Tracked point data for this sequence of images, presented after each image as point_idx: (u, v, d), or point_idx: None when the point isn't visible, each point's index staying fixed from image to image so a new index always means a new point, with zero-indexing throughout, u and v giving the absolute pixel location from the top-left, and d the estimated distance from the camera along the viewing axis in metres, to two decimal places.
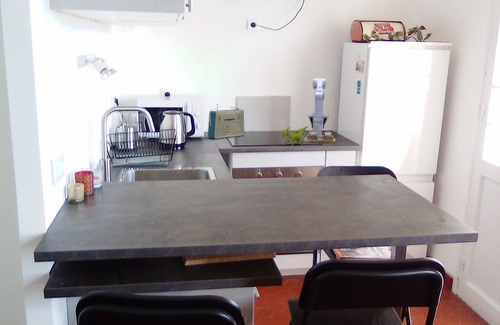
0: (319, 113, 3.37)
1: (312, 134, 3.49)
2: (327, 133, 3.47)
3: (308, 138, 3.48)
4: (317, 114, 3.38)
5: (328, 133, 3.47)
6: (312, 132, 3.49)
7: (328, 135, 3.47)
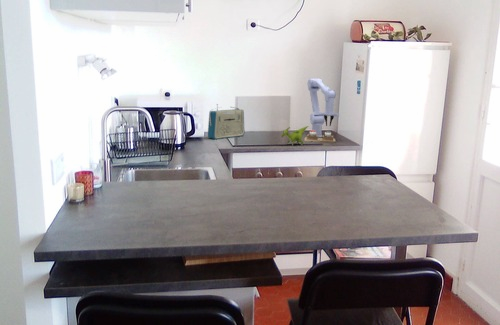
0: (330, 111, 3.47)
1: (312, 134, 3.49)
2: (327, 133, 3.47)
3: (308, 138, 3.48)
4: (328, 112, 3.47)
5: (328, 133, 3.47)
6: (312, 132, 3.49)
7: (328, 135, 3.47)
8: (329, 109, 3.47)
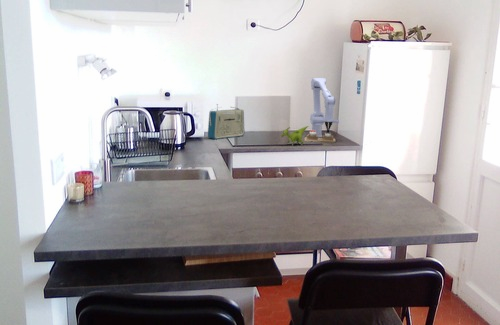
0: (329, 117, 3.44)
1: (312, 134, 3.49)
2: (327, 134, 3.47)
3: (308, 138, 3.48)
4: (327, 118, 3.44)
5: (328, 134, 3.47)
6: (312, 132, 3.49)
7: (328, 136, 3.48)
8: (329, 115, 3.44)
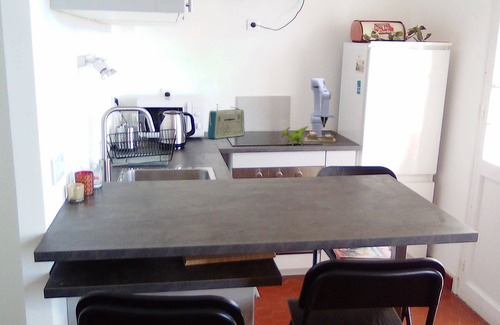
0: (325, 112, 3.44)
1: (312, 134, 3.49)
2: (327, 135, 3.48)
3: (308, 138, 3.48)
4: (323, 113, 3.44)
5: (328, 135, 3.47)
6: (312, 132, 3.49)
7: None
8: (324, 110, 3.43)
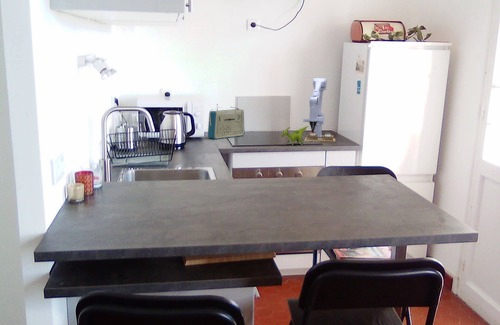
0: (314, 117, 3.46)
1: (312, 135, 3.49)
2: (327, 135, 3.48)
3: (308, 138, 3.48)
4: (312, 118, 3.46)
5: (328, 135, 3.47)
6: (312, 133, 3.49)
7: None
8: (313, 115, 3.45)
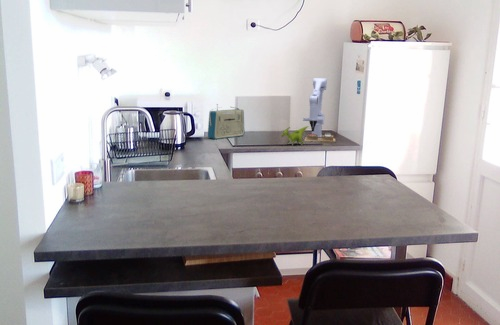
0: (314, 116, 3.46)
1: None
2: (327, 135, 3.48)
3: (308, 138, 3.48)
4: (312, 117, 3.46)
5: (328, 135, 3.47)
6: None
7: None
8: (313, 114, 3.45)
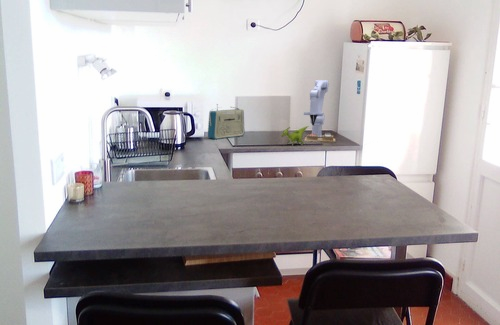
0: (314, 110, 3.49)
1: None
2: (327, 135, 3.48)
3: (308, 138, 3.48)
4: (312, 111, 3.50)
5: (328, 135, 3.47)
6: None
7: None
8: (314, 108, 3.49)
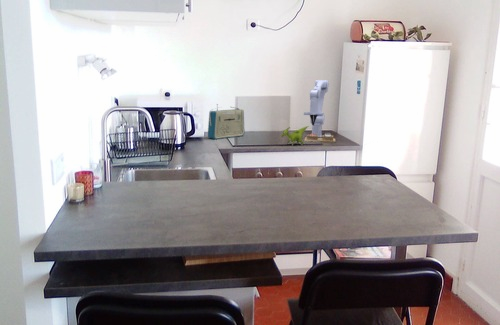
0: (314, 110, 3.49)
1: None
2: (327, 135, 3.48)
3: (308, 138, 3.48)
4: (312, 111, 3.50)
5: (328, 135, 3.47)
6: None
7: None
8: (314, 108, 3.49)
